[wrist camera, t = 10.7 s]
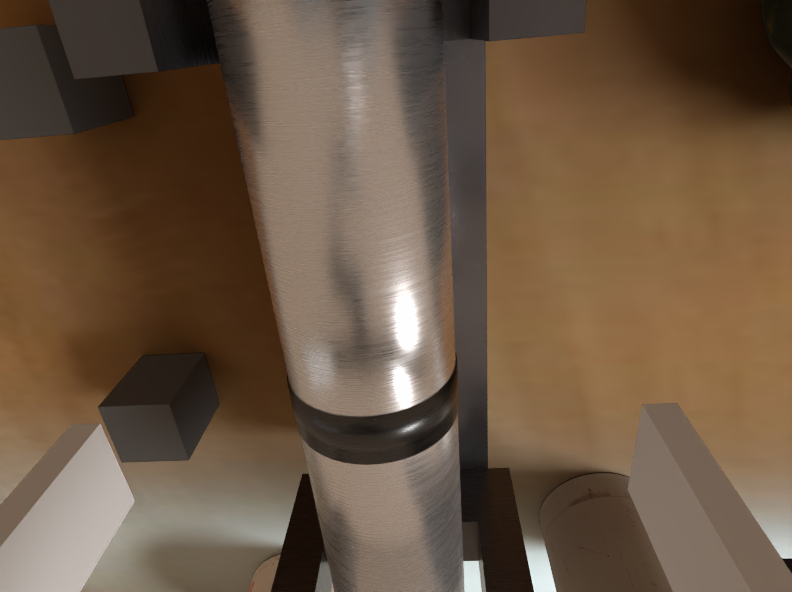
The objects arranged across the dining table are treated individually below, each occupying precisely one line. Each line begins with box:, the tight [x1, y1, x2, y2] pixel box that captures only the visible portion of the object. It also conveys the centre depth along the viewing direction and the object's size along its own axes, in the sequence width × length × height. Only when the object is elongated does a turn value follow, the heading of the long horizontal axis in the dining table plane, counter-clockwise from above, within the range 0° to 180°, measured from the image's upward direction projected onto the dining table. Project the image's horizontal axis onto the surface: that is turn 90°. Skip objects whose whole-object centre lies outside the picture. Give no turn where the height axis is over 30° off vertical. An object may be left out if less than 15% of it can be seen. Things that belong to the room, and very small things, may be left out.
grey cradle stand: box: [48, 0, 587, 592], centre depth 21 cm, size 28×10×16 cm, turn 5°
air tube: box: [207, 0, 464, 592], centre depth 16 cm, size 26×5×5 cm, turn 5°
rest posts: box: [0, 25, 219, 462], centre depth 27 cm, size 22×4×5 cm, turn 5°
